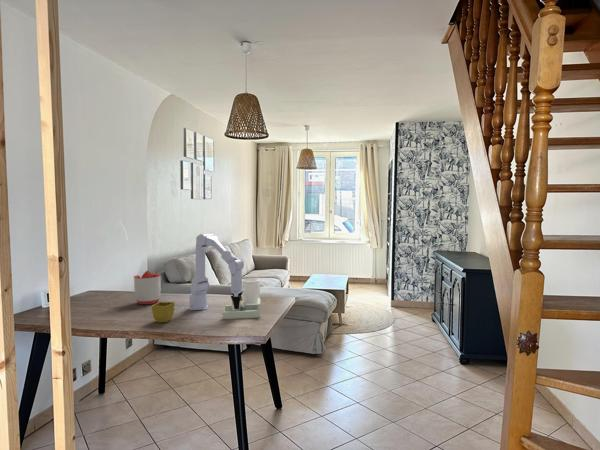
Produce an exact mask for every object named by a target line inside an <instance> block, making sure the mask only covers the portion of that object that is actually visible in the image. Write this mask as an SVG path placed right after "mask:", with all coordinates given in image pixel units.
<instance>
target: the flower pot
mask: <svg viewBox="0 0 600 450" xmlns="http://www.w3.org/2000/svg"><path fill="white" fill-rule="evenodd" d="M151 312H152V316H153V318H154V320H155V321H156V323H167V322H169V321H171V320H172V318H173V316H174V313H175V302H174V301H171V302H170V301H158V302H157V303H153V304H151Z"/></svg>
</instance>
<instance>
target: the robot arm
mask: <svg viewBox="0 0 600 450" xmlns="http://www.w3.org/2000/svg"><path fill="white" fill-rule="evenodd" d="M195 241H196V243H195V265H194V266H195V271H194V273H195V274H194V275H195V276H194V277H193V278H192V279H191V283H190V287H189V289H190V292H191V293H190V294H189V311H201V310H204V311H206V310H208V308H209V305H208V302H207V299H208V298H207V296H208V295H207V293H208V291H209V289H210V282H209V278H208V277H206V249H207V248H209V247H212V248H214V249H215V250H216V251H217V252H218V253H219V254H220V255H221V258H222V260H223V261H224V262H225V263H226V264H227V266H228V269H229V271H230V272H229V273H230V282H231V283H230V286H231V287H230V293H231V294H232V295H230V299H231V302H232V301H233V304H234V309H239V303H240V299H241V297H242V298H243V295H242V292H243V291H244V290H242V284H243V282H242V280H243V276H242V275H243V272H242V270H243V269H244V268H245V267H244V266H245V263H244V261H243V259H241V258H238V257H237V256H236V255H234V254H233V252H232V251H231V250H229V249H227V248H225V247H224V245H223V244H222V243H221V242H220V241H219V239H218V236H217V235H216V234H215V233H214V232H210V233H200V234H199V235H197V236H196V237H195Z"/></svg>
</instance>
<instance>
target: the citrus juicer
mask: <svg viewBox="0 0 600 450" xmlns="http://www.w3.org/2000/svg"><path fill="white" fill-rule="evenodd" d="M161 275H162V274H160V273H151V272H150V271H148V270H146V271H145V272H144V273H143V274H142V275H139V274H137V275H133V283H134V296H135V299H136V302H137V303H139V304H138V305H143V304H147V305H154V304H156V302H157V303H158V302H160V301H159V300H160V296H161V291H162V288H161V286H162V283H161V281H162V280H161Z"/></svg>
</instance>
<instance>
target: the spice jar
mask: <svg viewBox="0 0 600 450" xmlns="http://www.w3.org/2000/svg"><path fill="white" fill-rule="evenodd" d="M243 301H244V299H243V296H242V297H241V299H240V303H239V309H234V304H233V301H232V300H231V305H232V311H242V304H243Z"/></svg>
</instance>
